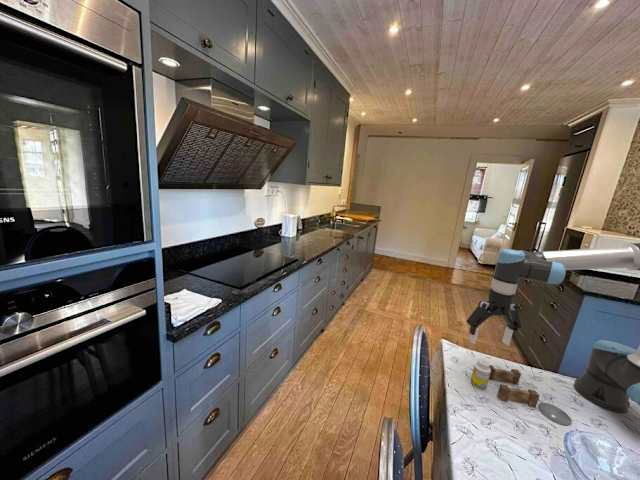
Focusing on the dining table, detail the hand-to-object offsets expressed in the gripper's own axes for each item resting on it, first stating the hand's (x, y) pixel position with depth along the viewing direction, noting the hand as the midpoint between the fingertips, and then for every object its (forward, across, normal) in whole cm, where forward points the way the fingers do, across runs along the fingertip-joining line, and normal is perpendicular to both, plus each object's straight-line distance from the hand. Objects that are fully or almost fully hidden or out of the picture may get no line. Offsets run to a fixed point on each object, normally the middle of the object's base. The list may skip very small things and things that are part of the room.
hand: (488, 342), depth 101 cm
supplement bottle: (+19, 0, 0) cm, 19 cm away
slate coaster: (+19, -20, +13) cm, 30 cm away
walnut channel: (+19, -11, +2) cm, 22 cm away
